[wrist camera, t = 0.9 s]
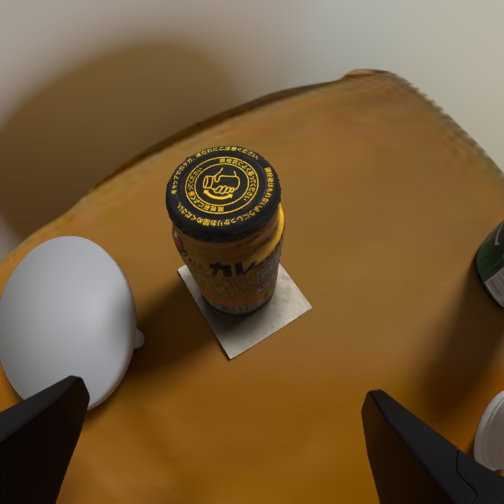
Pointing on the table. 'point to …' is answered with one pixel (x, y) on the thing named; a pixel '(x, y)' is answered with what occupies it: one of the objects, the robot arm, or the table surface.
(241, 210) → the condiment
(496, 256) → the coffee jar
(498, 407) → the glass holder
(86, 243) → the round white stand
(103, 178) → the table surface
